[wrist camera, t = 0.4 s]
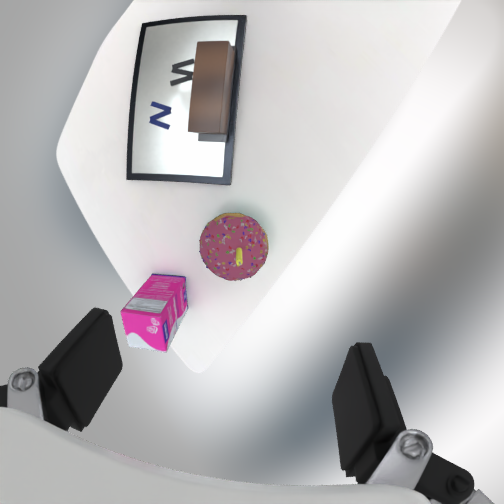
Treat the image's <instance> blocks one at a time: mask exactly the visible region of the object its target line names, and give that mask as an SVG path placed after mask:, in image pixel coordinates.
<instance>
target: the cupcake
mask: <svg viewBox="0 0 504 504" xmlns="http://www.w3.org/2000/svg"><path fill="white" fill-rule="evenodd" d="M199 241H200V251H199V252H200V254H201V257H202V259H203V262H204V263H205V264H206V268H207V267H208V268H209V269H210V270H211V271H212V272H213V273H214V274H215V275H217V276H219V277H221V278H224V279H226V280H230V281H233V280H234V281H236V280H240V281H241V280H242V279H245V278H249V277H250V278H251V276H253V275H255V274H256V273H257V271H258V270H259V269H260V268H261V267H262V266H263V264H265V261H266V258H267V254H268V239H267V235H266V233H265V231H264V230H263V229H262V227H261V226H260V225H259V223H258V222H257V221H256V220H254V219H253V218H251V217H248V216H246V215H243V214H240V213H224V214H221V215H219V216H218V217H216V218H215V219H213V220H212V221H210V222H209V223H208V224H207V225H206V226H205V229H204V230H203V232H202V235H201V237H200V240H199Z"/></svg>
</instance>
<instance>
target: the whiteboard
mask: <svg viewBox="0 0 504 504" xmlns="http://www.w3.org/2000/svg"><path fill="white" fill-rule="evenodd" d="M246 21H247V16H246V15H215V16H197V17H185V18H176V19H168V20H160V21H154V22H148V23H142V27H141V32H140V37H139V42H138V48H137V54H136V61H135V68H134V75H133V83H132V92H131V101H130V112H129V126H128V144H127V180H152V181H174V182H192V183H207V184H220V185H231V178H232V165H233V152H234V140H235V129H236V117H237V106H238V96H239V86H240V76H241V66H242V57H243V47H244V39H245V30H246ZM198 41H229V42H230V44H231V46H236V48H237V50H236V59H235V68H234V78H233V88H232V98H231V108H230V119H229V131H228V142H227V143H226V142H206V141H198V133H192V132H188V120H189V108H190V98H191V88H192V80H190V81H187V82H183V83H180V84H176V85H173V86H171V85H170V81H172V80H175V79H178V78H182V77H185V76H186V75H181V74H176V73H172V72H171V71H172V65H173V64H176V63H179V62H183V61H186V60H190V59H194V62H195V54H196V47H197V42H198ZM178 69H183V70H187V71H192V72H193V70H194V64H190V65H187V66H184V67H180V68H178ZM192 78H193V75H192ZM152 101H154V102H157V103H160V104H163V105H166V106H169V107H172V108H171V114H169V115H166V116H164V117H161V118H159V119H156V120H158V121H161V122H163V123H166V124H169V125H170V127H169V129H168V130H167V129H164V128H161V127H159V126H156V125H153V124H151V123H149V121H150V116H153V115H155V114H157V113H160V112H162V111H164V110H161V109H158V108H156V107H153V106H150V105H151V103H152Z"/></svg>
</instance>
